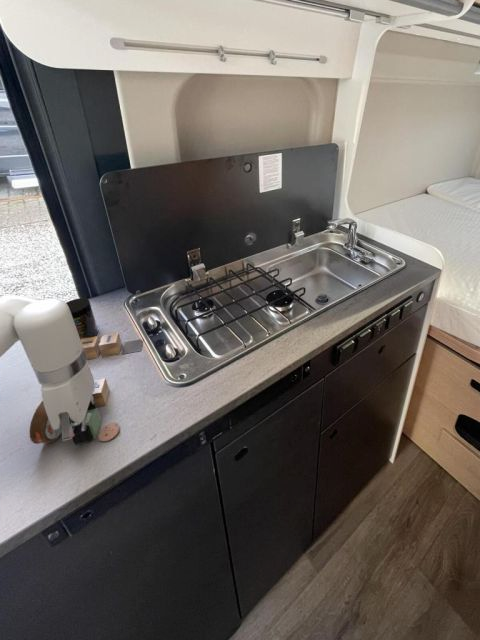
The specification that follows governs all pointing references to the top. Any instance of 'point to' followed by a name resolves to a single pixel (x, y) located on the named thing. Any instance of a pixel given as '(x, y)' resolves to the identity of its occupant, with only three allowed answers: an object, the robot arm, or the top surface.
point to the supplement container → (83, 317)
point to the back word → (109, 346)
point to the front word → (100, 392)
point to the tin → (42, 427)
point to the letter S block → (92, 421)
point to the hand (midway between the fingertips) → (87, 429)
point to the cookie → (108, 431)
